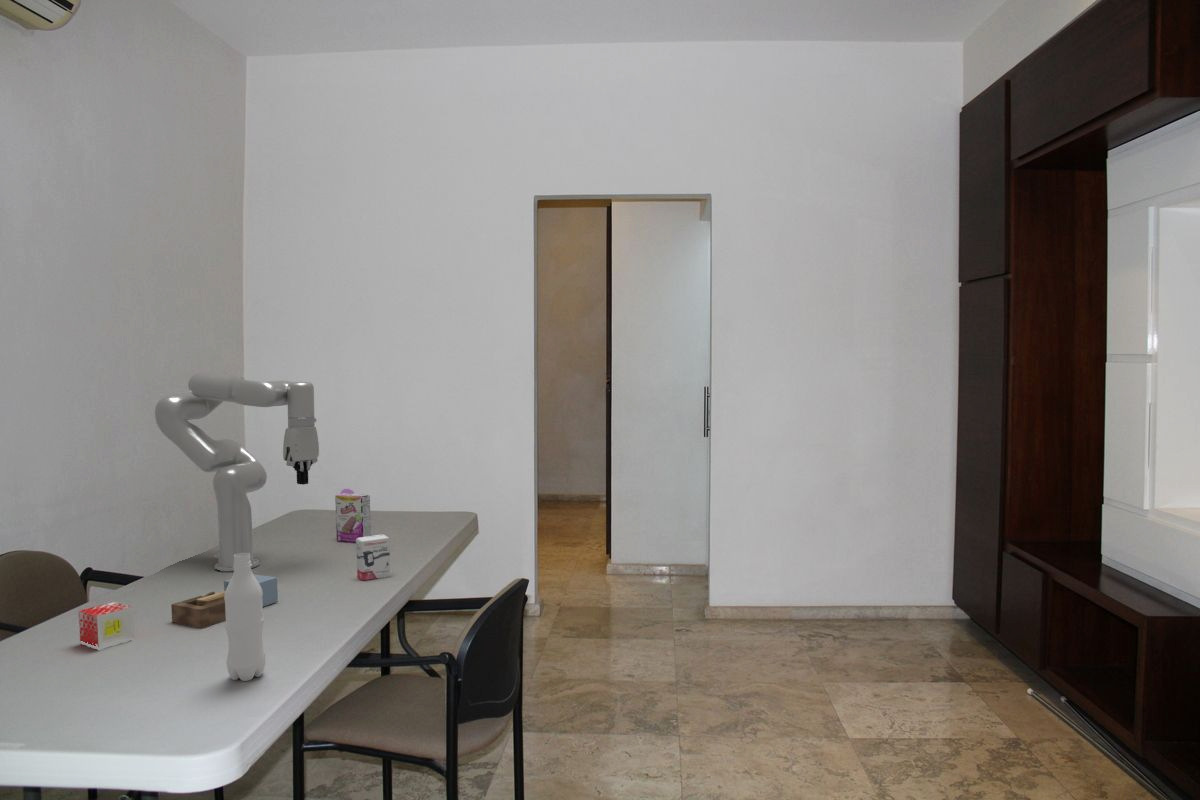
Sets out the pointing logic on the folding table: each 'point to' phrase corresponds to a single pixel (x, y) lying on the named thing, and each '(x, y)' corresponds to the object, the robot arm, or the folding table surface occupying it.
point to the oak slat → (210, 599)
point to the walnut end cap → (198, 612)
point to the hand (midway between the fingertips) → (302, 483)
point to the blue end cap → (264, 588)
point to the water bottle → (244, 621)
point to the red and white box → (106, 624)
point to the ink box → (373, 557)
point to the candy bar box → (352, 516)
